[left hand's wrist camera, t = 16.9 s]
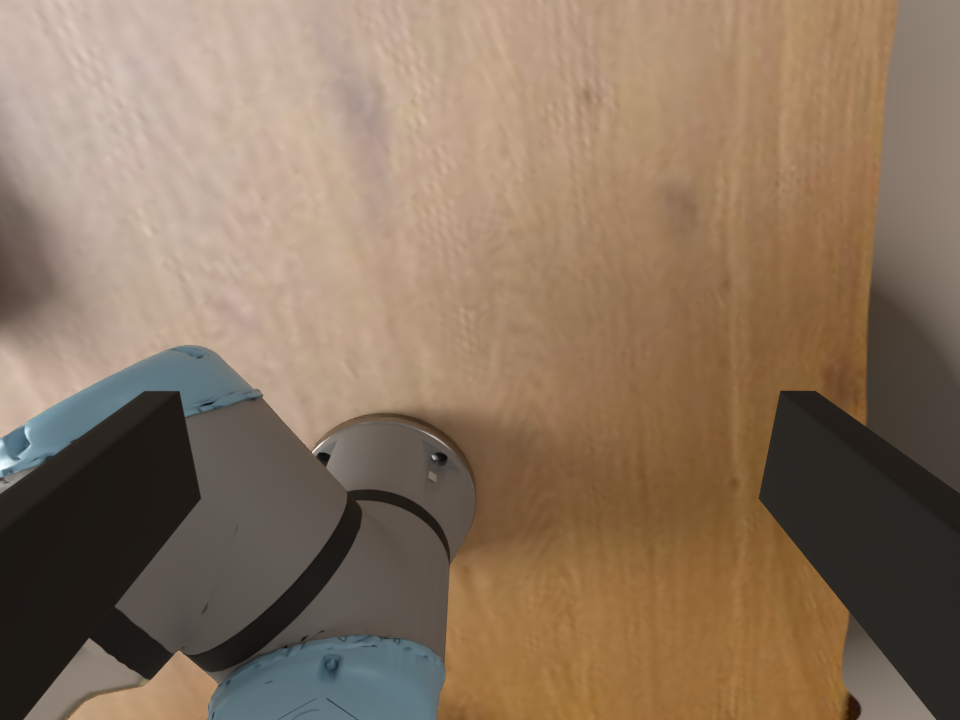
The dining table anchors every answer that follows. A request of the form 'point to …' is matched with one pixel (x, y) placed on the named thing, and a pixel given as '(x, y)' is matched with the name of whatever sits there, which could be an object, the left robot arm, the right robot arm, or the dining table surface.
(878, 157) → the dining table surface
